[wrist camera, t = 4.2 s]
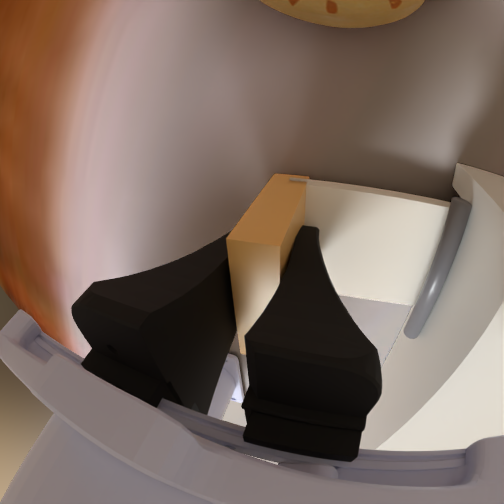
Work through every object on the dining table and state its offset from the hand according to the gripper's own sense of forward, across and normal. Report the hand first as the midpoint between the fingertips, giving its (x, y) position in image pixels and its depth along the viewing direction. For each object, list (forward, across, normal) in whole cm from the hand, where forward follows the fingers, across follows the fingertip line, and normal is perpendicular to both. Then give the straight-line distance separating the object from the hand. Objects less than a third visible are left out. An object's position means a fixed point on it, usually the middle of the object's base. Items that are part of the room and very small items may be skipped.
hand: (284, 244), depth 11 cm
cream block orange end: (+1, -7, 0) cm, 7 cm away
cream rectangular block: (+2, -12, +6) cm, 13 cm away
